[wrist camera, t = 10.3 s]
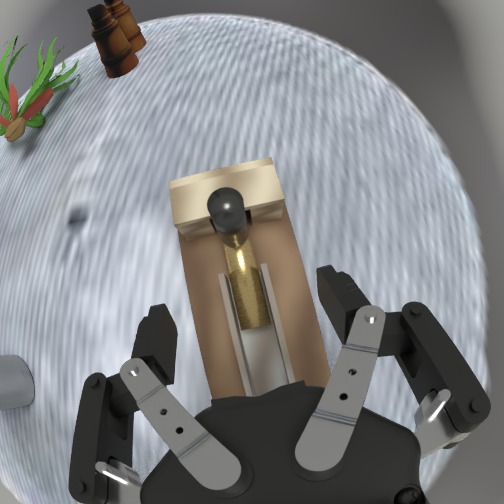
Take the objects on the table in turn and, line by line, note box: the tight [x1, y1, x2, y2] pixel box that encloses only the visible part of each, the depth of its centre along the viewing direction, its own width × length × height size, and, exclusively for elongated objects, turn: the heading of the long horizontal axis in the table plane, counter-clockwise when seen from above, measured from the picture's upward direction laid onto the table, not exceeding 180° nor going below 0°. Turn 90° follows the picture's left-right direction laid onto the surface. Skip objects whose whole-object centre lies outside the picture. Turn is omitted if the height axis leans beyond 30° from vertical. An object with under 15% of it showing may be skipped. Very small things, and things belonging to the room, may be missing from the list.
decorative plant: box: [0, 35, 79, 142], centre depth 35 cm, size 26×25×30 cm
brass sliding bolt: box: [207, 187, 271, 331], centre depth 26 cm, size 3×16×11 cm, turn 13°
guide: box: [169, 158, 331, 399], centre depth 29 cm, size 14×29×7 cm, turn 13°
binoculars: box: [87, 0, 146, 78], centre depth 39 cm, size 18×8×20 cm, turn 5°
